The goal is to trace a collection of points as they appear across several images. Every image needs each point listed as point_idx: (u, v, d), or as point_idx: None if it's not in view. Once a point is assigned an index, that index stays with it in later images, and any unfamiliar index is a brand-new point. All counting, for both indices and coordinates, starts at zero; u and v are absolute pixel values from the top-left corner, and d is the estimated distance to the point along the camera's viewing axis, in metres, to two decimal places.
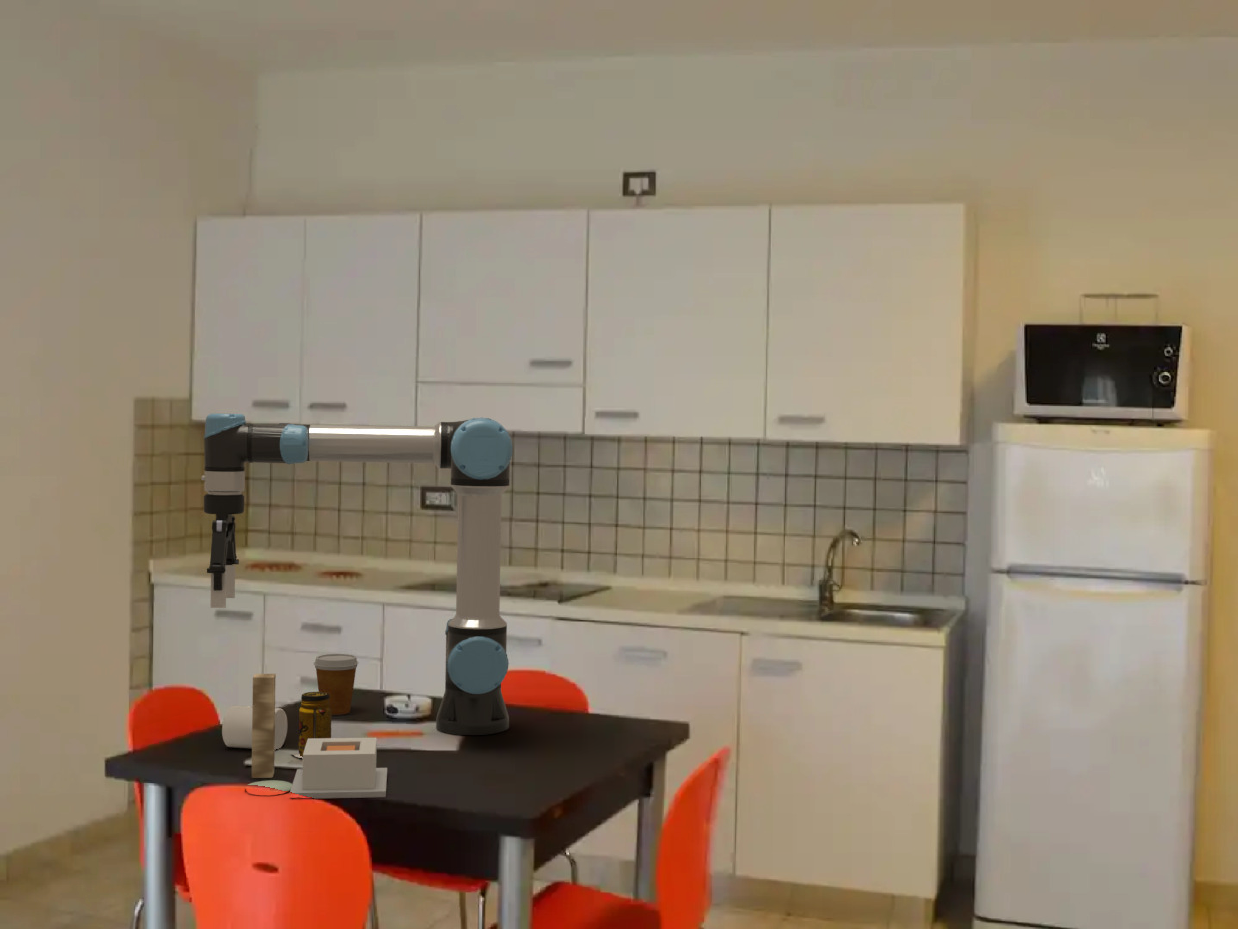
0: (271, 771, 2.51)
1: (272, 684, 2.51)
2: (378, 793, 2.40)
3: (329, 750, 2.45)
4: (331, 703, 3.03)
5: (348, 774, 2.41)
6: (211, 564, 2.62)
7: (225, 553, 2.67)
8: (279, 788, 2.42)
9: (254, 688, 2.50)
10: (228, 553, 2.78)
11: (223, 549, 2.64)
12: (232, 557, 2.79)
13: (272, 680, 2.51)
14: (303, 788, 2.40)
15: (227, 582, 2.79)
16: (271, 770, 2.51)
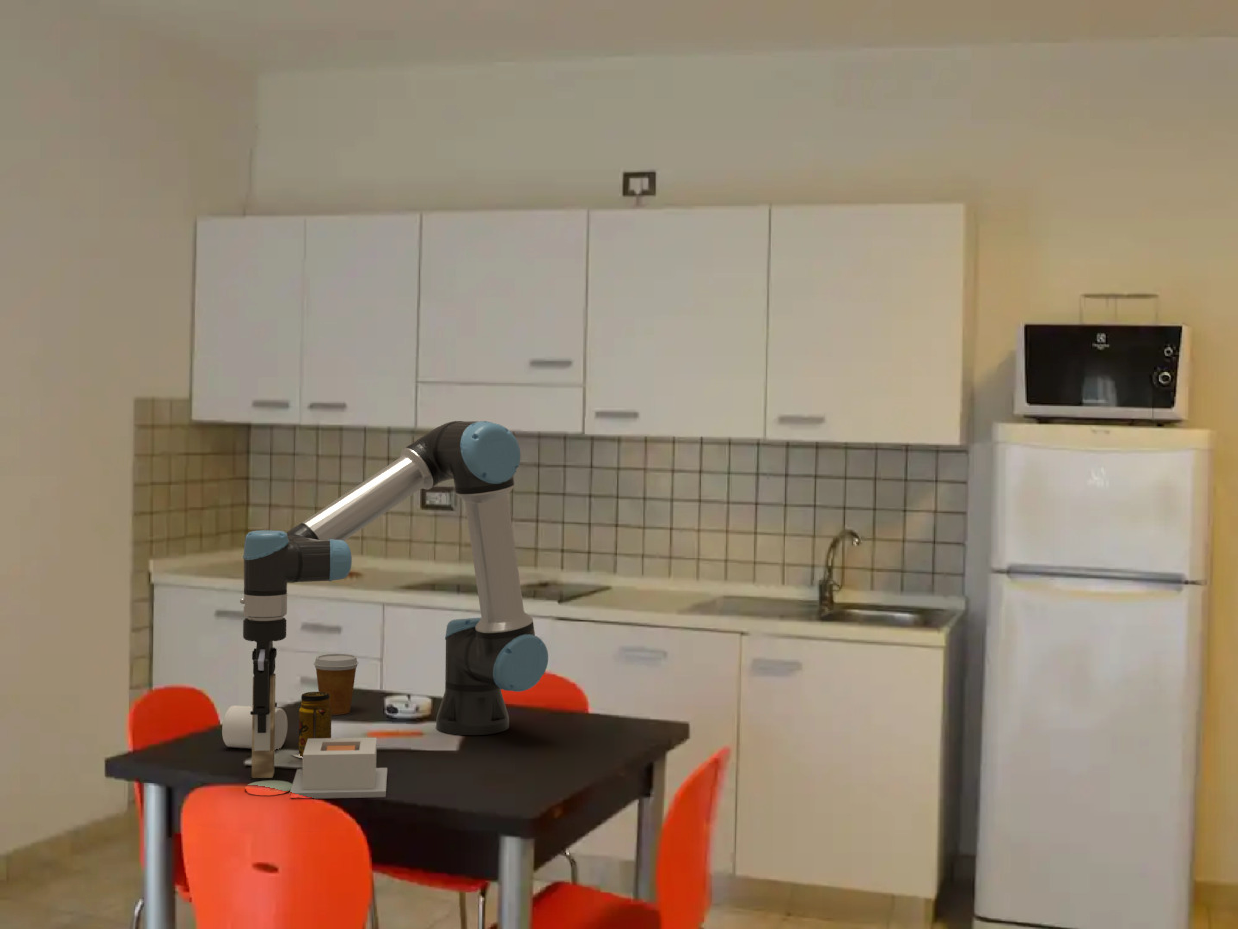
0: (271, 771, 2.51)
1: (272, 684, 2.51)
2: (378, 793, 2.40)
3: (329, 750, 2.45)
4: (331, 703, 3.03)
5: (348, 774, 2.41)
6: (255, 706, 2.47)
7: (268, 692, 2.49)
8: (279, 788, 2.42)
9: None
10: None
11: (267, 691, 2.47)
12: None
13: (272, 680, 2.51)
14: (303, 788, 2.40)
15: None
16: (271, 770, 2.51)
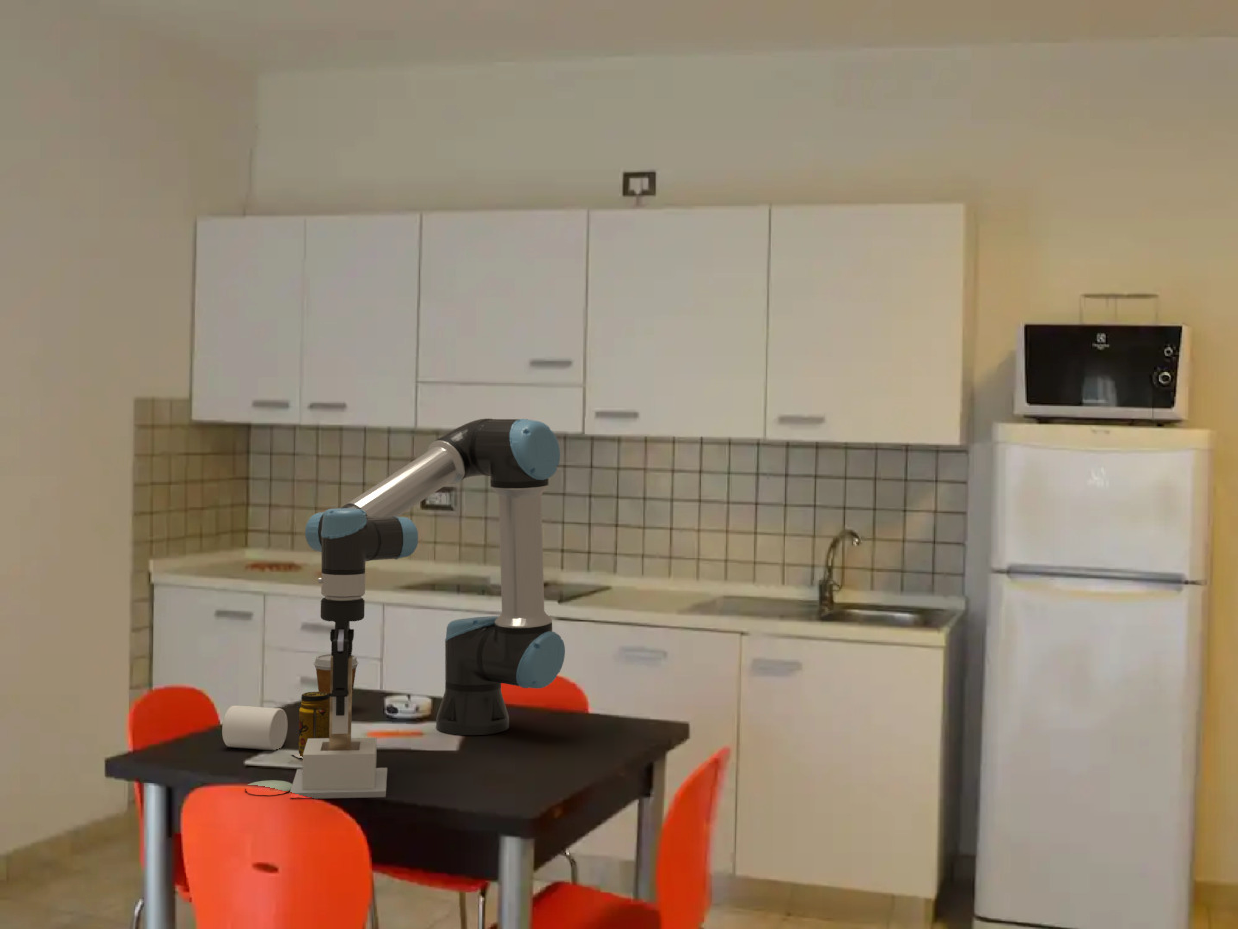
0: None
1: (350, 665, 2.45)
2: (378, 793, 2.40)
3: None
4: None
5: (348, 774, 2.41)
6: (334, 688, 2.41)
7: None
8: (279, 788, 2.42)
9: (332, 670, 2.44)
10: None
11: (346, 672, 2.41)
12: None
13: (350, 661, 2.45)
14: (303, 788, 2.40)
15: None
16: None
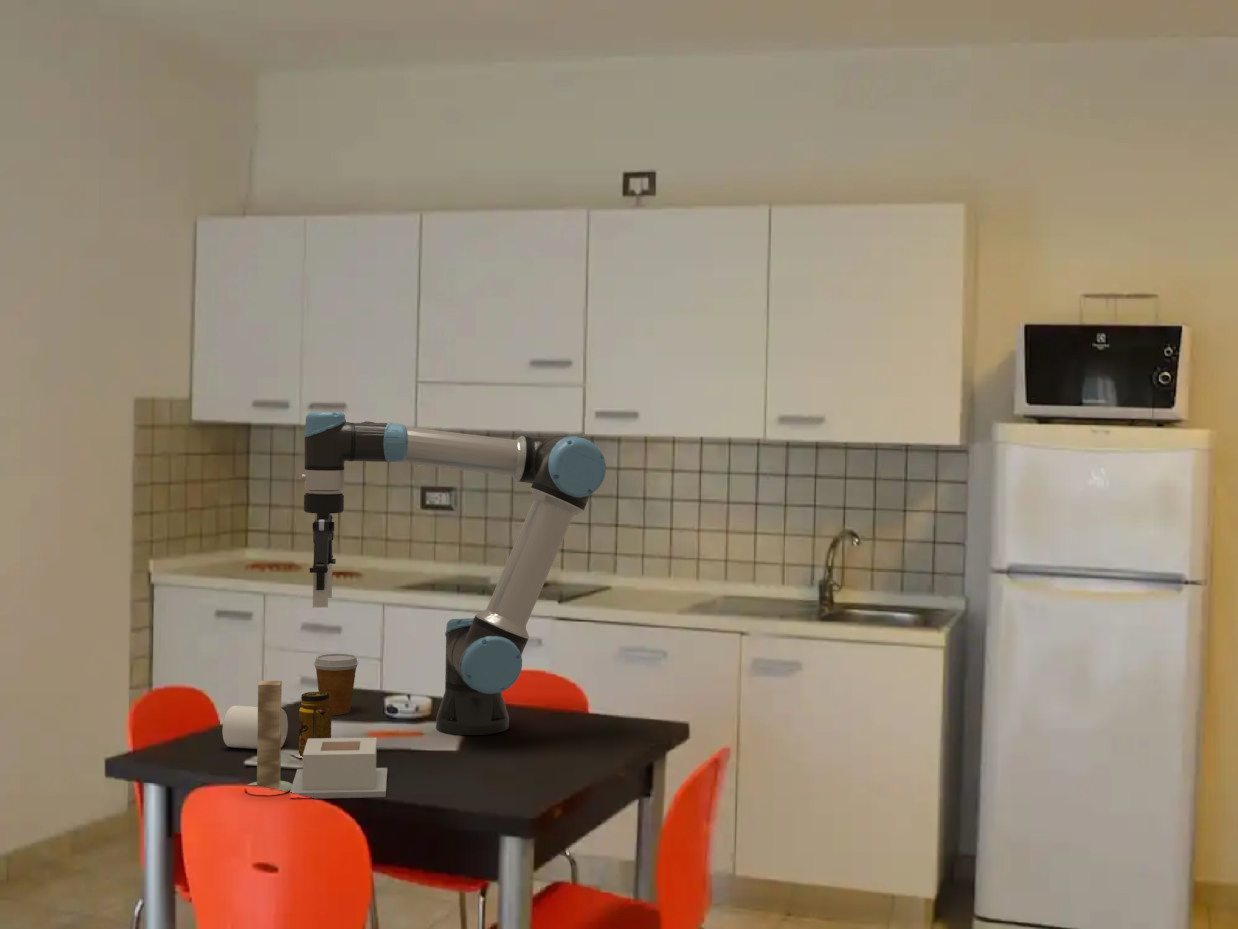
0: (277, 782, 2.42)
1: (278, 692, 2.41)
2: (378, 793, 2.40)
3: None
4: (331, 703, 3.03)
5: (348, 774, 2.41)
6: (314, 563, 2.61)
7: (327, 552, 2.65)
8: (279, 788, 2.42)
9: (259, 696, 2.41)
10: None
11: (326, 548, 2.62)
12: (330, 556, 2.77)
13: (278, 687, 2.41)
14: (303, 788, 2.40)
15: None
16: (277, 781, 2.42)
